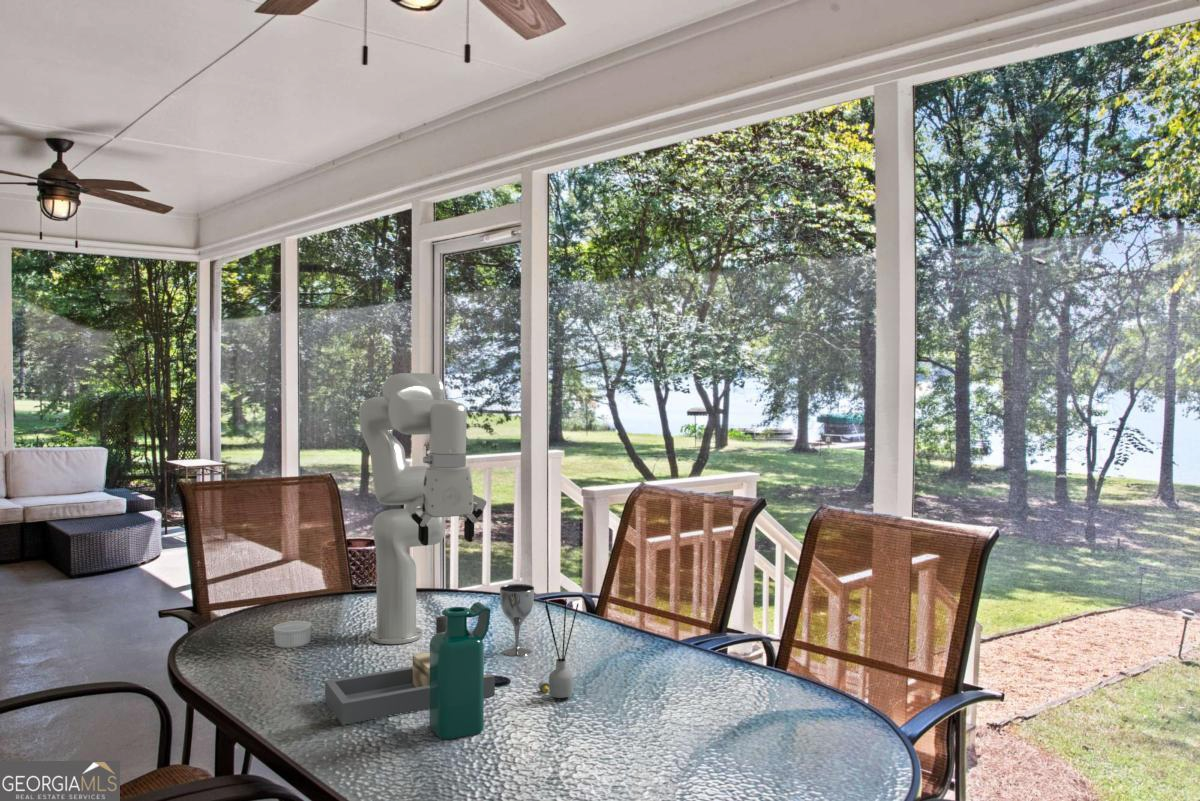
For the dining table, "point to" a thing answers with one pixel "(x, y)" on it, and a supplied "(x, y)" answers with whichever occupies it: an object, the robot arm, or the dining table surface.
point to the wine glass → (517, 611)
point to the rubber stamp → (426, 658)
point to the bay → (381, 695)
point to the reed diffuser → (559, 668)
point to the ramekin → (292, 634)
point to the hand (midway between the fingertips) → (446, 542)
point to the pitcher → (458, 674)
